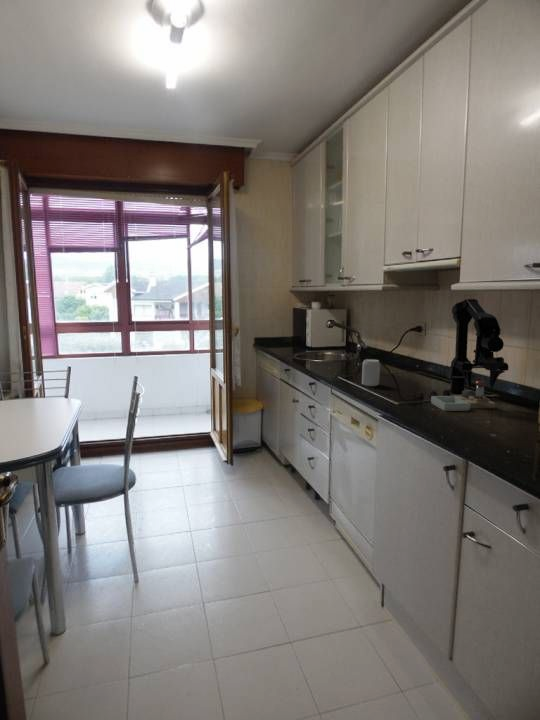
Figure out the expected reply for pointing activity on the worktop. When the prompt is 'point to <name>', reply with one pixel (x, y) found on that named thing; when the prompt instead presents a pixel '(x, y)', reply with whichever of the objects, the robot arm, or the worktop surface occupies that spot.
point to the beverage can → (370, 372)
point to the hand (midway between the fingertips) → (480, 387)
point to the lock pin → (480, 389)
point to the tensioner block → (475, 400)
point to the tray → (450, 403)
